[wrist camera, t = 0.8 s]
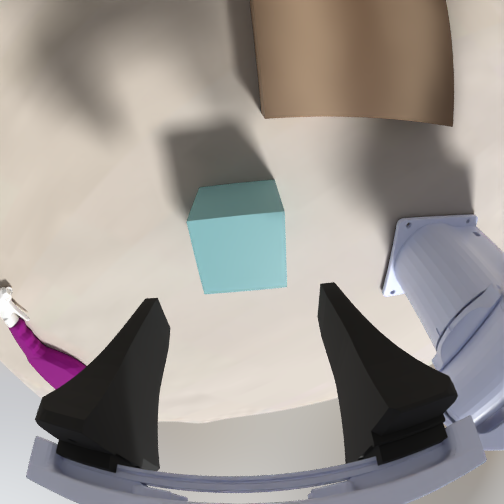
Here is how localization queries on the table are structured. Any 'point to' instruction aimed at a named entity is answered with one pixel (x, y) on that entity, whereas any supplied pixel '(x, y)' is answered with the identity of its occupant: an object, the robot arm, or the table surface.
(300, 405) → the table surface
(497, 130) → the table surface
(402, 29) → the walnut base
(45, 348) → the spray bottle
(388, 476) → the robot arm
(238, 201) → the teal cube
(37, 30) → the table surface
